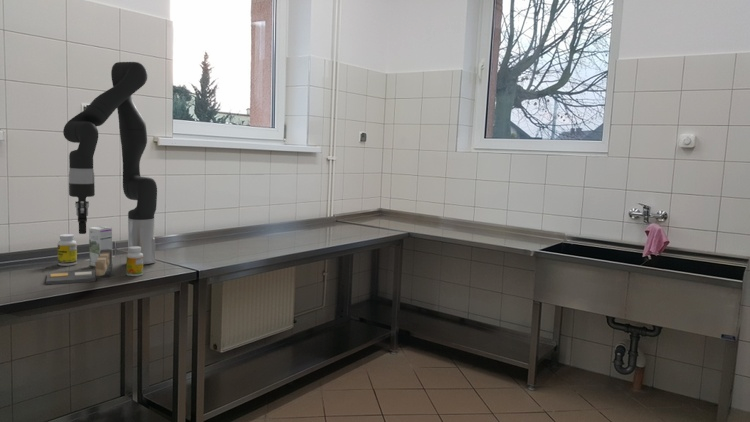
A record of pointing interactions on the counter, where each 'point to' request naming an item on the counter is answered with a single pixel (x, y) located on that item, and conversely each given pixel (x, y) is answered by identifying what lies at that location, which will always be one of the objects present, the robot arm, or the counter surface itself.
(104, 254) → the tan wooden bar
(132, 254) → the supplement bottle
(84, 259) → the counter surface
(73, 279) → the label mat
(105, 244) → the syrup box
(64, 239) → the pill bottle
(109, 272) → the pivot post
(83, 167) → the robot arm
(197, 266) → the counter surface
